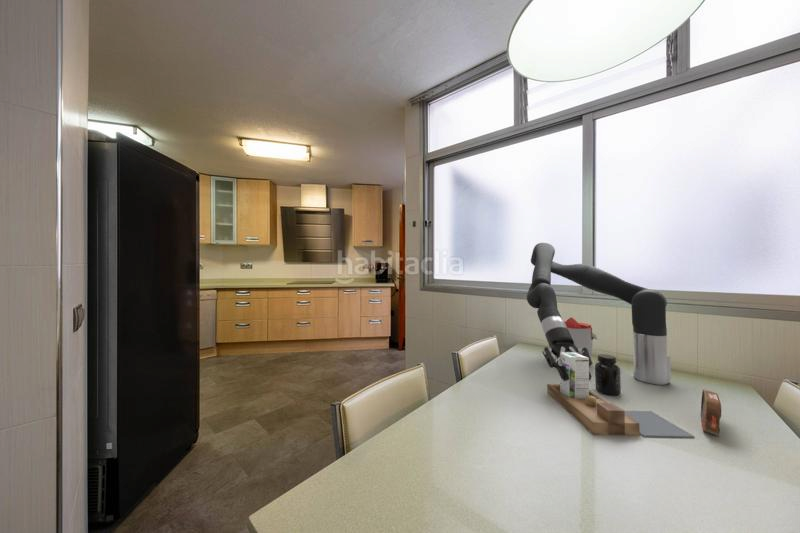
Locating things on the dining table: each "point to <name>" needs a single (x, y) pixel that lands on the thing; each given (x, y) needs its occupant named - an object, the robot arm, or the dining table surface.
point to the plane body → (596, 413)
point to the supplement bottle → (607, 376)
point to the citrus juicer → (581, 334)
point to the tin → (710, 412)
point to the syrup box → (575, 375)
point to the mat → (656, 425)
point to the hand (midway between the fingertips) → (577, 379)
